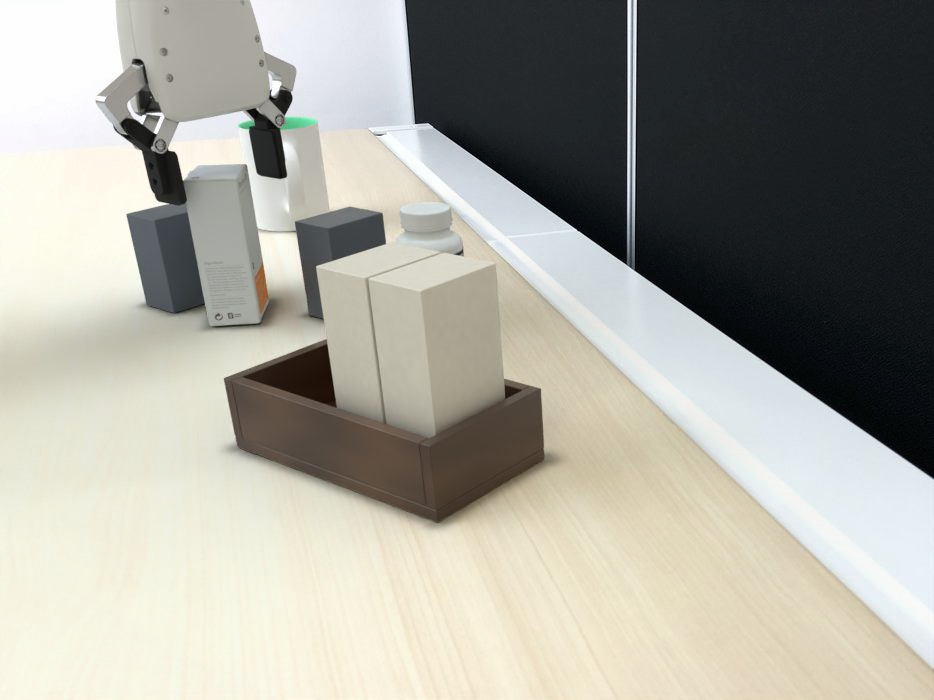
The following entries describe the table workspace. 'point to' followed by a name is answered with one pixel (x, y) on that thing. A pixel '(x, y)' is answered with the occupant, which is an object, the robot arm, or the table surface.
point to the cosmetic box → (226, 243)
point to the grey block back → (166, 257)
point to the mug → (289, 177)
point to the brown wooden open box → (381, 437)
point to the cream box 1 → (358, 323)
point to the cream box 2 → (438, 342)
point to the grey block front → (334, 243)
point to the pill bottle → (429, 228)
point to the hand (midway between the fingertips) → (224, 189)
